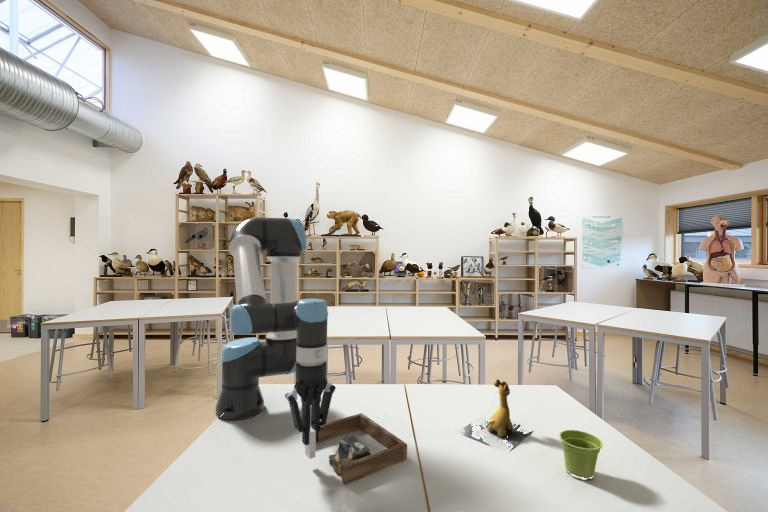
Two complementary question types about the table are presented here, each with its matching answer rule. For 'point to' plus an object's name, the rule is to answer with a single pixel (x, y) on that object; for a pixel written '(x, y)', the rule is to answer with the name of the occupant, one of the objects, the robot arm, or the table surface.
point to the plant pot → (580, 452)
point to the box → (374, 461)
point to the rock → (348, 453)
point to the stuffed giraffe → (501, 419)
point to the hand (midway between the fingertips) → (310, 455)
